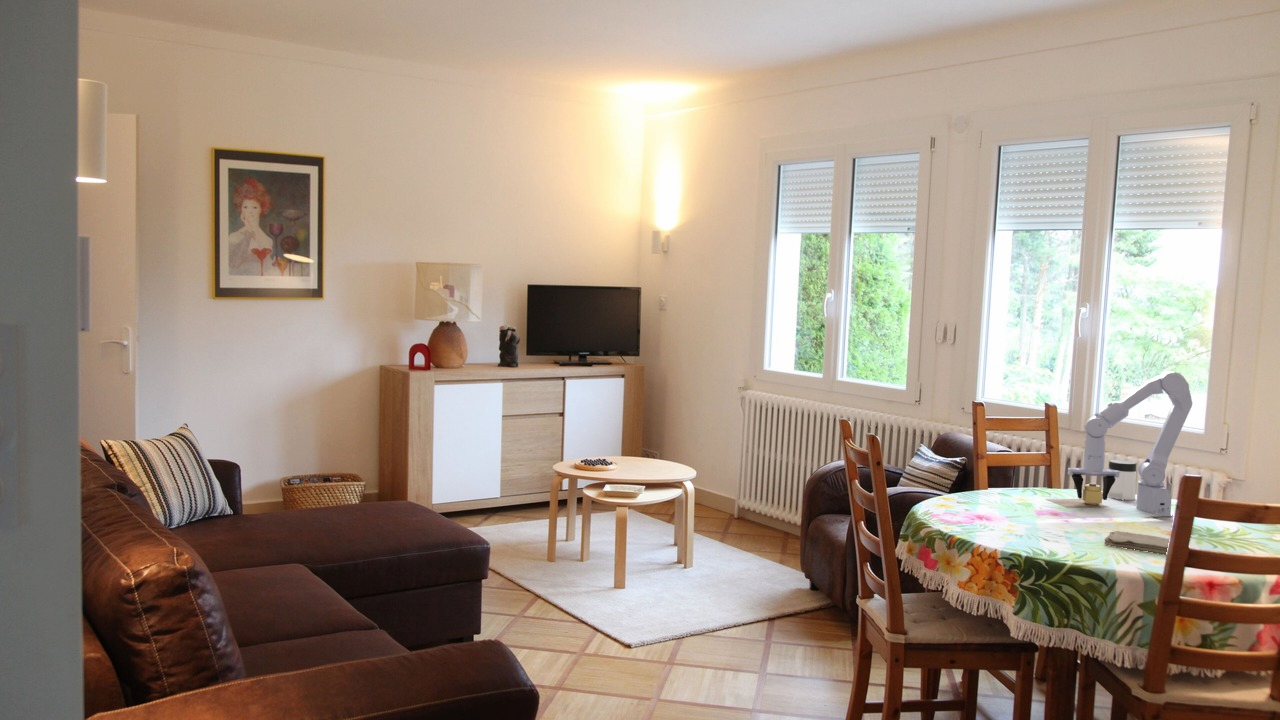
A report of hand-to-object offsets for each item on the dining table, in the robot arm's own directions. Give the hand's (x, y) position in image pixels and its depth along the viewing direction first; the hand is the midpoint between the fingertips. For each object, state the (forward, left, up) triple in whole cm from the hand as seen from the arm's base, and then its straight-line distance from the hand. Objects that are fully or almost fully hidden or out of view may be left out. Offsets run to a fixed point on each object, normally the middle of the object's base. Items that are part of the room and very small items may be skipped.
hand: (1092, 498), depth 299 cm
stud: (0, 0, -2) cm, 2 cm away
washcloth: (-45, +15, -4) cm, 47 cm away
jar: (+14, -20, -3) cm, 25 cm away
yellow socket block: (0, 0, -1) cm, 1 cm away
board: (+2, +4, -3) cm, 5 cm away
